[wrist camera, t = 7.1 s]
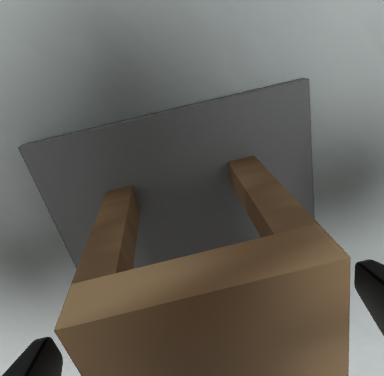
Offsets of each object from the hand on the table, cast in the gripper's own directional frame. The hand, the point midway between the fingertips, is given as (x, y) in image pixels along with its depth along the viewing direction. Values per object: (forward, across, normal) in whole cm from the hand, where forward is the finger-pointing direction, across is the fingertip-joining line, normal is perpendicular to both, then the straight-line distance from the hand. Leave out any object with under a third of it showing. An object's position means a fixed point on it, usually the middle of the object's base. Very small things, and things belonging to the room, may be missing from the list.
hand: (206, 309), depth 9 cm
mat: (+4, 0, 0) cm, 4 cm away
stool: (+4, 0, 0) cm, 4 cm away
